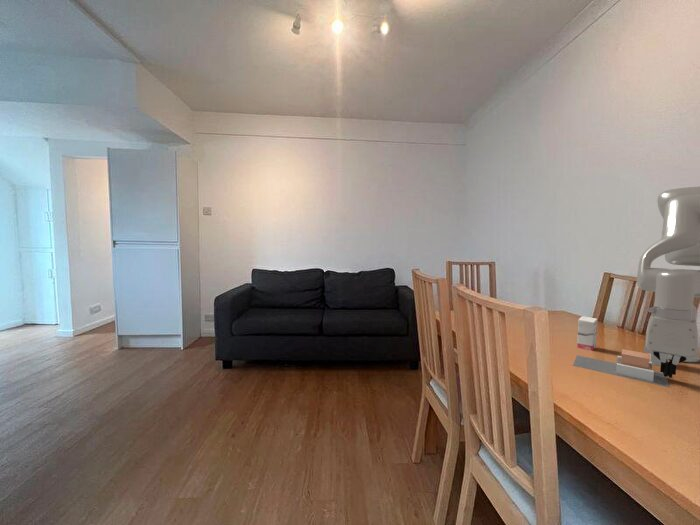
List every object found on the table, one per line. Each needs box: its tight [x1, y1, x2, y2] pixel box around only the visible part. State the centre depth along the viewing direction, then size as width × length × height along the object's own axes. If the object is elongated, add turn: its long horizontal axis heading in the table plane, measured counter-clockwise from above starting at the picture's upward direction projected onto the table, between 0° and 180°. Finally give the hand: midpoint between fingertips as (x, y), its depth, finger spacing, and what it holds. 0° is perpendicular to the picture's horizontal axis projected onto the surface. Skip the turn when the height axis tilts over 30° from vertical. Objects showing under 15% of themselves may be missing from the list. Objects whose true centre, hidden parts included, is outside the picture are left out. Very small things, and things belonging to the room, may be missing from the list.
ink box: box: [576, 315, 598, 351], centre depth 116 cm, size 9×5×12 cm, turn 133°
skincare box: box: [647, 353, 669, 367], centre depth 100 cm, size 6×4×12 cm
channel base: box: [572, 355, 671, 388], centre depth 95 cm, size 12×22×4 cm, turn 47°
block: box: [620, 348, 649, 370], centre depth 92 cm, size 6×6×6 cm
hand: (667, 375), depth 88 cm, fingers closed
